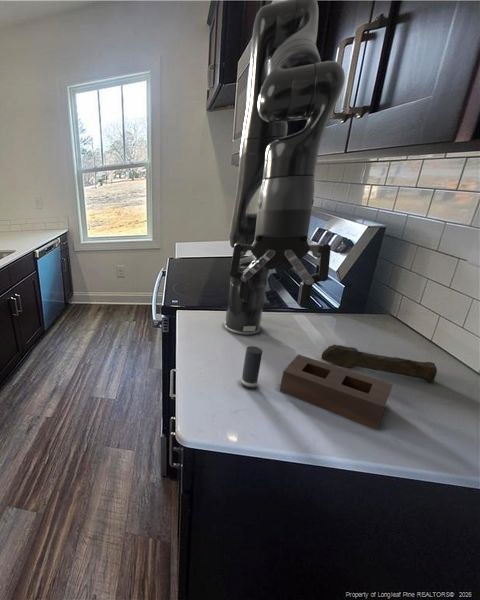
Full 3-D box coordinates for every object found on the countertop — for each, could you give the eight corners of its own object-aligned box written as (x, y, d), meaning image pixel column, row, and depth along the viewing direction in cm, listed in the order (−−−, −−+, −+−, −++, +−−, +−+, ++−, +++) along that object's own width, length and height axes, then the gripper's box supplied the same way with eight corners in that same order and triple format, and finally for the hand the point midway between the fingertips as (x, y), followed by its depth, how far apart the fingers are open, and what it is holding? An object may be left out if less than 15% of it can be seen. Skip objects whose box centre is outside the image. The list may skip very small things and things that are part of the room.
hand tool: (427, 375, 69) (434, 357, 67) (433, 385, 66) (441, 366, 64) (320, 355, 79) (324, 338, 77) (321, 363, 75) (325, 346, 74)
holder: (294, 373, 72) (298, 354, 71) (385, 405, 61) (393, 383, 59) (279, 390, 67) (283, 370, 65) (376, 429, 56) (384, 406, 54)
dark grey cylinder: (244, 379, 71) (249, 344, 68) (259, 385, 69) (265, 349, 66) (238, 385, 70) (243, 349, 66) (253, 391, 67) (259, 355, 64)
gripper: (331, 206, 52) (315, 300, 56) (235, 209, 58) (227, 295, 62) (345, 205, 46) (326, 312, 50) (236, 209, 51) (227, 305, 56)
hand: (271, 302), depth 56 cm, fingers open, 8 cm apart
